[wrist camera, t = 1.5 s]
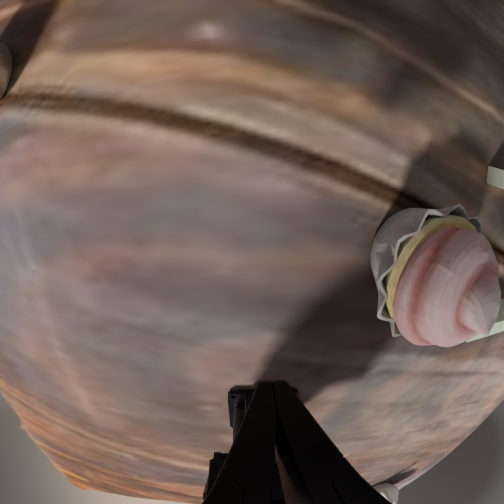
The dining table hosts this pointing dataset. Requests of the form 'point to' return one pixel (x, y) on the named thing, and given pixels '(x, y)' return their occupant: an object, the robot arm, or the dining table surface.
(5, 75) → the plastic bottle
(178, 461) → the dining table surface
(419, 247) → the cupcake
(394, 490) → the teapot
